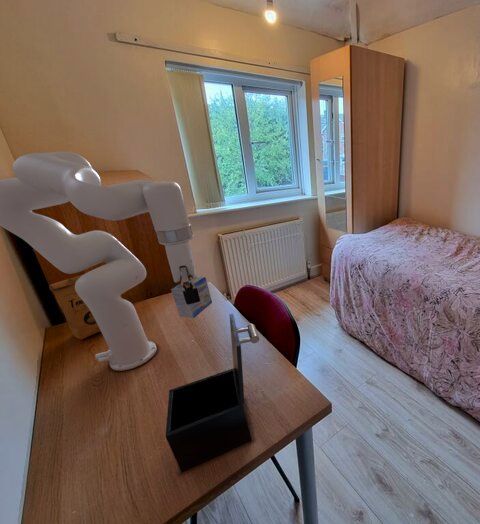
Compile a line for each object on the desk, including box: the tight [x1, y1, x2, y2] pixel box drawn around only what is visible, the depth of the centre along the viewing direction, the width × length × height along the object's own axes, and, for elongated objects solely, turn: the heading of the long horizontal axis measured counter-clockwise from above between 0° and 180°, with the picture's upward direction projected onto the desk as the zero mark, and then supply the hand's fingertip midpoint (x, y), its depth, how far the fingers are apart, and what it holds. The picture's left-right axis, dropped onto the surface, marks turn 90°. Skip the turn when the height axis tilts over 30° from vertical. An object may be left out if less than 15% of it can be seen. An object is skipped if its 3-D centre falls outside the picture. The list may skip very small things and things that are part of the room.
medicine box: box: [170, 275, 213, 319], centre depth 77 cm, size 8×4×9 cm, turn 167°
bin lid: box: [229, 312, 260, 405], centre depth 65 cm, size 15×13×5 cm
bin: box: [164, 367, 253, 474], centre depth 66 cm, size 15×13×12 cm
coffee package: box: [48, 274, 101, 340], centre depth 102 cm, size 10×12×22 cm
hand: (193, 294), depth 77 cm, fingers closed on medicine box, 8 cm apart
